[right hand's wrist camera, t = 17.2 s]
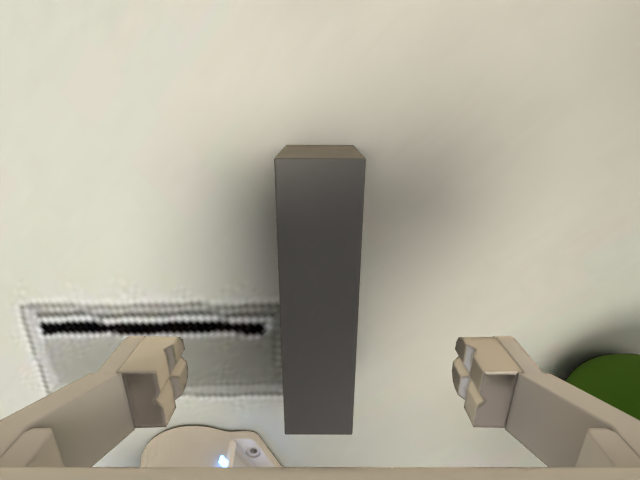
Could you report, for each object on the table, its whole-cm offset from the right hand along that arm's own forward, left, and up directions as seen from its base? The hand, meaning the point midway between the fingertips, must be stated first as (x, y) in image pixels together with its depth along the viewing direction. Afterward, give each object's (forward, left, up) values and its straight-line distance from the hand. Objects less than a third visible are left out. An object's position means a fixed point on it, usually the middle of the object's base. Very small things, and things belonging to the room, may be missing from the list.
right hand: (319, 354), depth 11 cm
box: (-6, +5, -23) cm, 24 cm away
